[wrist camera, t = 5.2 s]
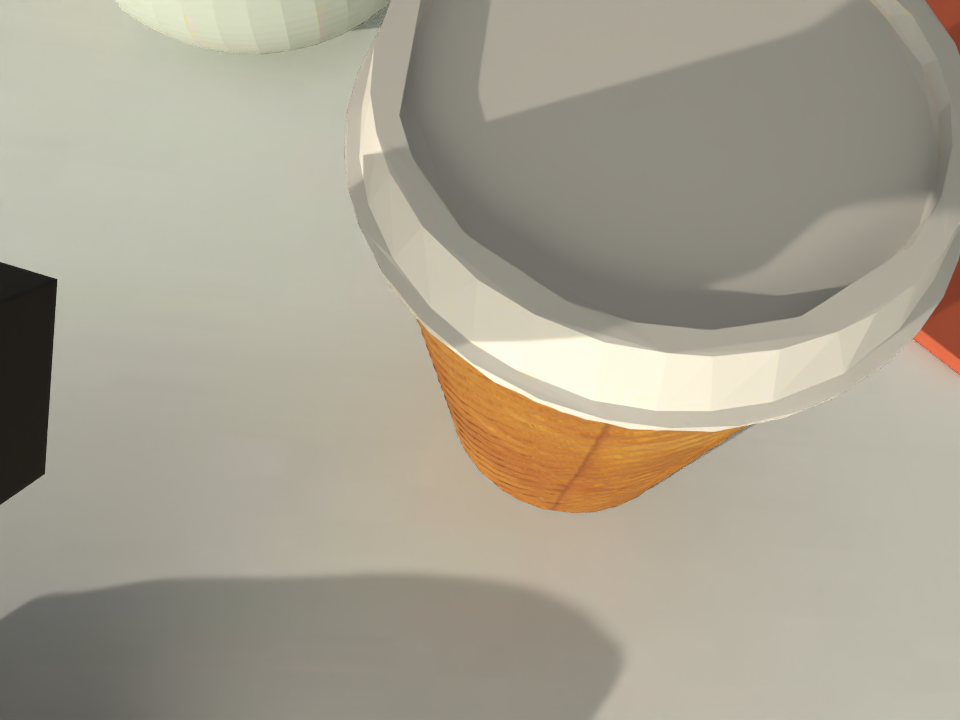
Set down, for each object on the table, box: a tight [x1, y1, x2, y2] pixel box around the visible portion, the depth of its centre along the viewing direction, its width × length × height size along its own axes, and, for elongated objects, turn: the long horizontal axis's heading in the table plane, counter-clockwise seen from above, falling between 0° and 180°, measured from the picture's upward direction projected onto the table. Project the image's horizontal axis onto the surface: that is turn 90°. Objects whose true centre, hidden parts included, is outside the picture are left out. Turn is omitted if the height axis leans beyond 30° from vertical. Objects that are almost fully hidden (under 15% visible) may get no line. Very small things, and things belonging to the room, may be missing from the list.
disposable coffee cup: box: [344, 0, 960, 513], centre depth 18 cm, size 10×10×12 cm
